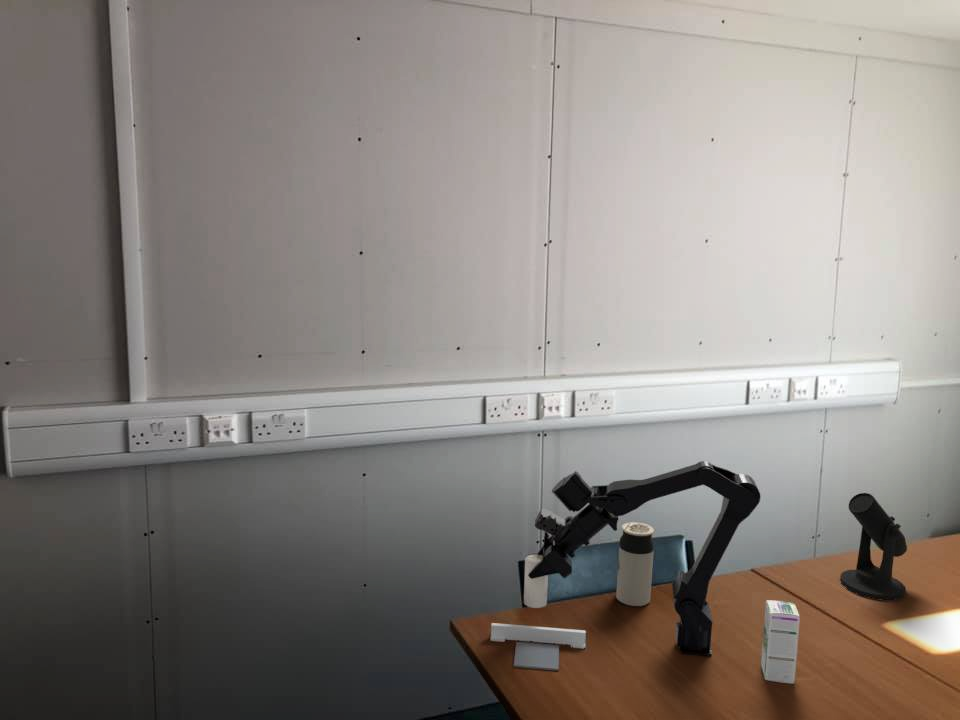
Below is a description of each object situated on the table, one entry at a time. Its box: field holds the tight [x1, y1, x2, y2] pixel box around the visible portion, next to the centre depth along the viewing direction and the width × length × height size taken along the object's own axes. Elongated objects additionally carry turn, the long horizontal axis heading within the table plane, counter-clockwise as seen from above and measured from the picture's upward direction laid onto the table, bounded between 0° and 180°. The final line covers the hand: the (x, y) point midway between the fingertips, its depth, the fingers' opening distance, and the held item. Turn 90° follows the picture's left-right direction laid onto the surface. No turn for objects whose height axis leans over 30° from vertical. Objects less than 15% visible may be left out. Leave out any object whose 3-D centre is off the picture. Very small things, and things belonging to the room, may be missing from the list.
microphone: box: [839, 492, 908, 601], centre depth 193 cm, size 15×17×25 cm
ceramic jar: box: [523, 553, 549, 609], centre depth 167 cm, size 5×5×10 cm
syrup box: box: [760, 599, 801, 685], centre depth 153 cm, size 6×6×14 cm
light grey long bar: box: [490, 622, 587, 649], centre depth 164 cm, size 20×3×3 cm, turn 84°
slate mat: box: [513, 641, 560, 671], centre depth 158 cm, size 9×9×1 cm
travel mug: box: [615, 521, 655, 607], centre depth 183 cm, size 8×8×18 cm
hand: (530, 571), depth 167 cm, fingers closed on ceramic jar, 5 cm apart
